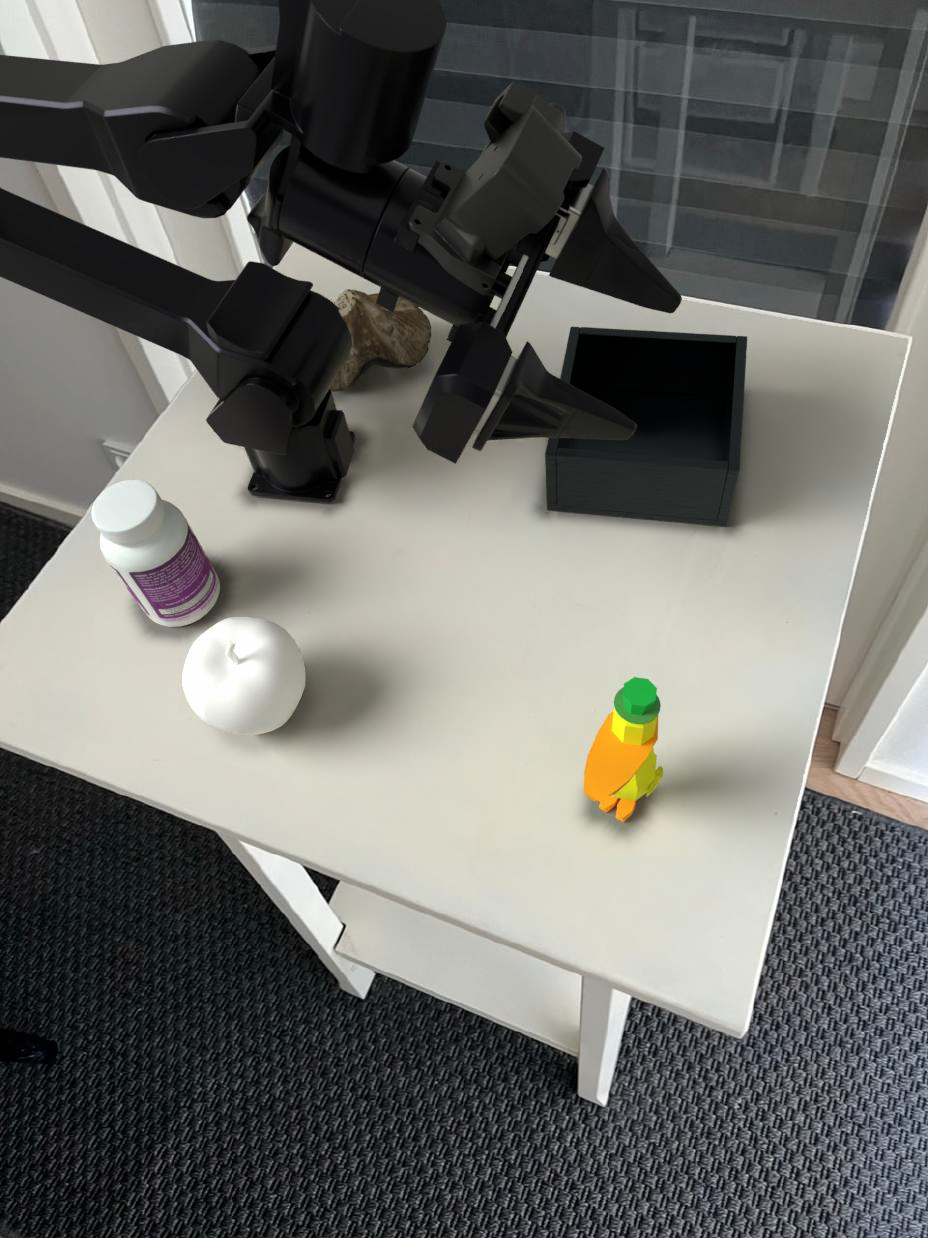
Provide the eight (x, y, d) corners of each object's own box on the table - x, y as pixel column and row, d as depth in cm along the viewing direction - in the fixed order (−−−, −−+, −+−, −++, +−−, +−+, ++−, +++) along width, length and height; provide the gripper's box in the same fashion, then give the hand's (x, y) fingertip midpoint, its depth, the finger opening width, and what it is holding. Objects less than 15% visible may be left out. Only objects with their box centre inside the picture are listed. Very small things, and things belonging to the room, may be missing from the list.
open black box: (546, 510, 63) (544, 454, 58) (570, 385, 69) (570, 325, 64) (726, 527, 61) (739, 470, 56) (735, 396, 67) (747, 335, 62)
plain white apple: (276, 775, 55) (235, 715, 48) (183, 726, 57) (132, 662, 50) (341, 681, 57) (311, 612, 51) (250, 638, 60) (210, 566, 53)
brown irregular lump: (427, 288, 73) (308, 319, 75) (405, 256, 66) (275, 290, 68) (443, 382, 73) (324, 410, 75) (423, 360, 66) (292, 391, 68)
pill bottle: (234, 570, 63) (184, 476, 55) (202, 636, 60) (145, 547, 52) (164, 557, 64) (105, 463, 56) (129, 621, 61) (62, 532, 53)
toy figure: (617, 871, 50) (629, 786, 40) (558, 837, 51) (556, 746, 41) (673, 770, 52) (699, 666, 42) (617, 740, 54) (628, 633, 44)
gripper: (338, 233, 36) (690, 417, 38) (497, -30, 44) (782, 133, 45) (302, 394, 46) (581, 533, 48) (437, 156, 54) (672, 283, 55)
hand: (656, 366), depth 49 cm, fingers open, 9 cm apart
